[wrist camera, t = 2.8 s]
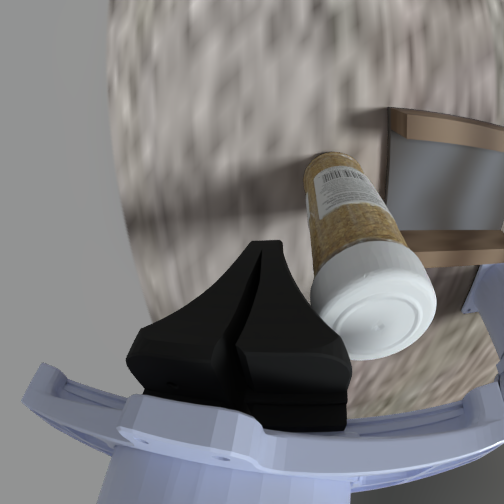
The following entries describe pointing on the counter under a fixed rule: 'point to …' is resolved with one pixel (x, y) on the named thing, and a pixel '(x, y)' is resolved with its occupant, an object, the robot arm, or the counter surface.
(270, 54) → the counter surface
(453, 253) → the cradle
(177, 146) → the counter surface
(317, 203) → the sprinkles bottle
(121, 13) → the counter surface
